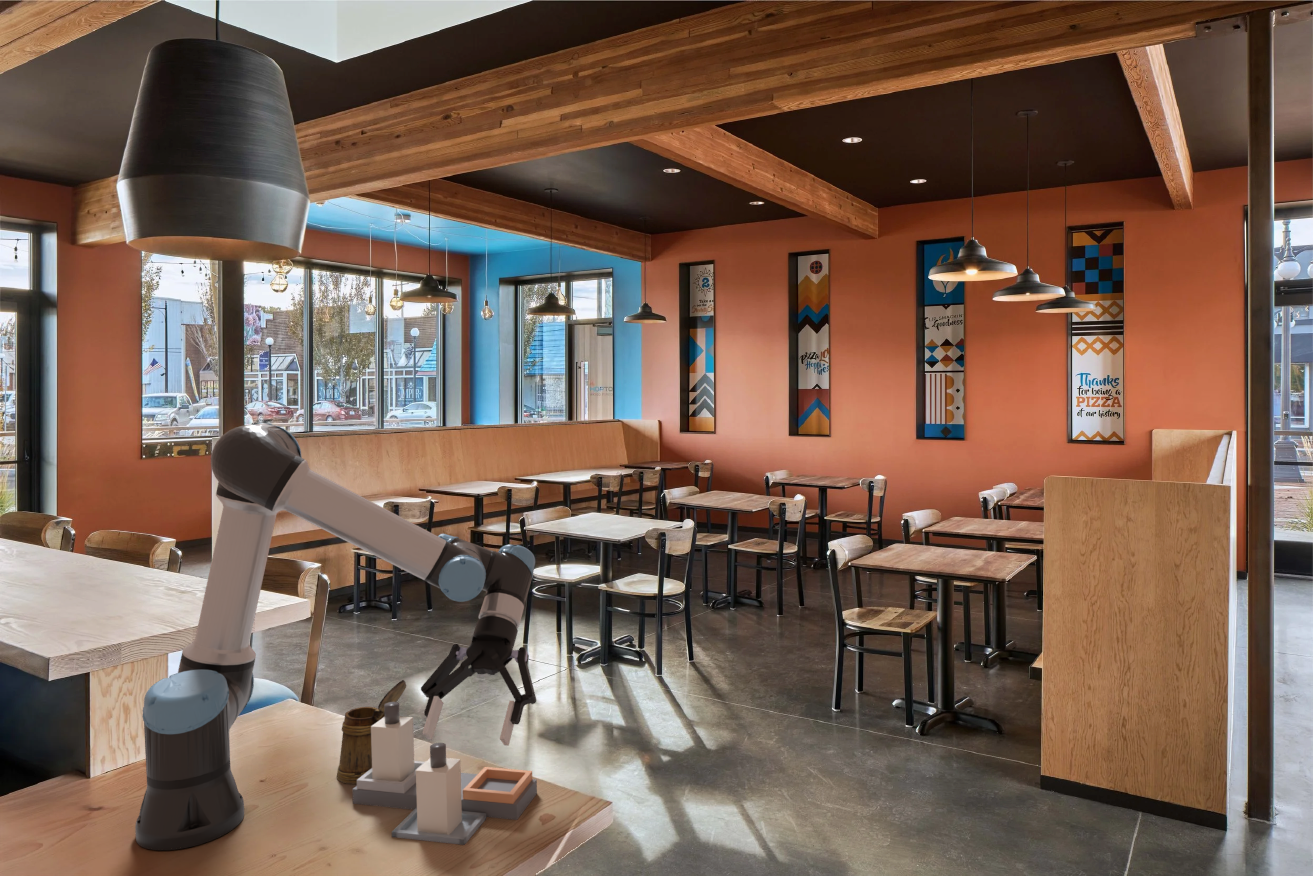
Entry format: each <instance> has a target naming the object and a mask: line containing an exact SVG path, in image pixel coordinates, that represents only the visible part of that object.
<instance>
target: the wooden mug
mask: <svg viewBox="0 0 1313 876" xmlns="http://www.w3.org/2000/svg"><path fill="white" fill-rule="evenodd" d="M406 688H407V684H406V681H405V680H404V679H402V680H400V681H399V682H397V683H396V684H395V685H394V686H393V687H392V688H391V689H390V690H389V691H387V693H386V694H385V695H384V697H383V698H382V699H381V700H380V702H379V704H378V707H373V706H361V707H357V708H352V709H350V710H348V711H346V712H345V714H344V720H343V721H342V726H341V731H342V738H341V748H340V755H339V763H338V766H337V772H336V778H337V781H339V782H340V783H343V784H350V785H351V784H352V785H357V779H359V778H360V777H361V776H362V775H364V774H365V773H366V772H367V771H369V770H370V769H371V768H372V747H371V726H372V725H374V724H375V723H376V722H378V721H379V720H381V719H382V718H383V717H385V712H384V705H385V704H386V703H389V702H398V701H399V699H400V698H401V697H402V695H403V693H404V692H405V690H406Z"/></svg>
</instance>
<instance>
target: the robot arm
mask: <svg viewBox="0 0 1313 876" xmlns="http://www.w3.org/2000/svg"><path fill="white" fill-rule="evenodd" d="M211 451H212V452H211V456H210V465H211V470H212V471H211V472H213V476H214V477H215V479H216V480H217V481H218V483H217V487H216V492H215V496H216V498H217V499H218V500H219V502H221V504H222V510H221V511H222V512H221V515H220V520H219V525H218V530H217V535H216V540H215V543H214V548H213V554H212V558H211V564H210V567H209V573H208V577H207V580H206V581H207V582H206V587H205V591H204V596H203V600H202V606H201V609H200V615H199V620H198V622H197V623H198V624H197V629H196V634H195V638H194V640H192V642H191V643H189V644H188V645H185V647H184V648H182V652H181V657H180V662H179V666H178V669H177V670H178V671H177V673H174V674H171V675H169V677H164V678H162V679H160V680H158V681H157V682H155V683H154V684H152V686H150V687H149V688H148V690H147V691H146V693H145V695H144V699H143V707H142V721H143V727H144V730H143V731H144V749H145V752H144V754H145V768H146V771H145V772H146V789H145V793H144V796H143V798H142V803H141V806H140V809H139V814H138V817H137V818H136V822H135V826H134V827H135V828H134V829H135V842H136V843H137V844H138V846H140V847H141V848H144V849H147V850H153V851H174V850H175V851H176V850H182V849H187V848H191V847H195V846H200V845H202V844H203V845H204V844H205V843H209V842H211V841H214V840H215V839H219V838H220V837H222V836H225V835H226V834H228V833H230V832H231V831H232V830H234V829H235V828H237V827H238V825H239V824H240V823H242V821H243V819H244V818H245V801H244V798H243V796H242V794H241V793H240V792H239V789H238V786H237V782H236V780H235V777H234V774H233V772H232V770H231V748H230V747H231V745H230V743H231V741H230V729H231V728H232V726H233V725H234V723H235V722H236V720H237V719H238V717H239V716H240V714H241V713H242V712H243V711H244V709H245V708H246V707H247V705H248V703H249V702H250V700H251V698H252V695H253V691H254V683H255V678H254V673H253V671H254V668H255V662H256V658H257V657H256V656H257V654H256V651H255V650H254V649H253V648H252V647H251V645H250V641H251V637H252V632H253V628H254V623H255V619H256V613H257V608H258V603H259V599H260V594H261V589H262V585H263V580H264V575H265V570H266V566H267V562H268V556H269V551H270V548H271V544H272V538H273V537H272V536H273V533H274V529H275V523H276V519H277V514H278V513H279V512H281V511H285V512H287V513H290V514H292V515H294V516H296V517H298V518H299V519H301V520H304V521H305V522H307V523H310V524H311V525H314V526H315V527H317V528H319V529H321V530H323V531H325V532H328V533H330V534H331V535H333V536H335V537H337V538H340V539H341V540H343V541H344V542H347V543H349V544H351V545H353V546H356V547H357V548H359V549H361V550H363V551H365V552H368V553H369V554H372V555H374V556H376V557H377V558H379V559H381V560H383V561H385V562H387V563H389V564H391V565H392V566H395V567H397V568H399V569H401V570H404V571H405V572H407V573H409V574H410V575H413V576H415V577H417V578H418V579H421V580H423V581H425V582H426V583H428V584H429V585H432V586H434V587H436V588H438V589H439V590H440V591H441V592H442V593H443V594H444V595H445V596H446V597H447V598H448V599H449V600H451V601H455V602H459V603H460V602H461V603H463V602H468V601H471V600H473V599H475V598H476V597H477V596H479V594H480V593H481V592H482V591H485V595H484V599H483V602H482V605H481V609H480V611H479V613H478V620H477V621H476V624H475V626H474V631H473V634H472V636H471V637H472V638H471V639H472V640H471V643H470V645H469V646H468V647H462V646H460V645H459V644H458V643H454V644H453V645H452V646H451V648H450V651H449V652H448V655H447V656H446V657H445V658H444V659H443V660H442V662H441V663H440V664H439V665H438V667H437V668H436V669H435V670H434V672H433V673H432V674H431V675H430V676H429V677H428V678H427V680H426V681H425V682H424V683H423V684H422V686H421V687H420V691H421V692H422V693H423V694H424V696H425V697H426V698H428V700H427V702H426V706H425V709H424V717H426V720H425V723H424V726H423V729H422V735H423V736H424V737H425V738H426V740H428V741H433V740H434V739H433V738H434V735H435V733H436V729H437V725H438V722H439V719H440V716H441V714H442V710H443V707H444V701H443V700H442V699H443V698H444V697H446V696H447V695H448V694H450V693H451V692H452V691H453V690H454V689H456V688H457V687H458V686H459V685H460V684H461V683H463V682H464V681H465V680H466V679H467V678H468V677H469V678H470V677H472V676H474V675H475V674H477V675H486V674H487V675H490V676H495V675H496V674H498V673H500V675H501V677H502V679H503V680H504V683H505V684H506V686H507V688H508V689H509V692H510V693H511V695H512V697H513V699H514V700H509V702H508V704H507V710H506V712H505V717H504V719H503V720H504V721H503V725H502V728H501V731H500V736H499V741H501V742H502V744H503V745H504V746H506V747H507V746H510V741H511V738H512V736H513V735H512V733H513V731H514V726H515V725H520V722H521V719H522V715H523V710H524V708H525V706H526V705H530V704H531V705H534V704H536V703H537V698H536V697H537V695H536V693H535V689H534V685H533V681H532V678H531V673H530V669H529V666H528V664H529V659H530V658H529V653H528V651H527V650H526V648H525V647H524V646H521V647H519V648H518V649H517V650H516V649H514V647H515V644H516V643H515V642H516V640H517V637H518V631H519V630H518V629H519V627H520V624H521V621H522V616H523V614H524V608H525V605H526V601H527V597H528V594H529V591H530V587H531V582H532V580H533V578H534V571H535V565H536V558H535V555H534V553H533V552H532V551H531V550H529V549H528V548H527V547H524V546H522V545H519V544H517V545H514V544H506V545H502V546H501V547H500V548H499V550H498V551H494V550H491V549H488V548H486V547H482V546H480V545H478V544H475V543H472V542H469V541H467V540H465V539H462V538H460V537H459V536H453V535H449V534H446V533H440V534H439V535H437V534H434V533H432V532H430V531H428V530H426V529H424V528H423V527H421V526H419V525H417V524H415V523H413V522H411V521H409V520H407V519H405V518H403V517H401V516H399V515H398V514H396V513H394V512H392V511H390V510H388V509H386V508H385V507H382V506H381V505H378V504H377V503H375V502H373V501H371V500H369V499H367V498H365V497H363V496H362V495H359V494H358V493H356V492H354V491H352V490H350V489H348V488H346V487H344V486H342V485H340V484H339V483H336V482H335V481H333V480H331V479H329V478H327V477H325V476H323V475H322V474H319V473H318V472H316V471H314V470H312V469H311V468H310V465H309V462H308V460H306V459H305V458H303V456H302V450H301V447H300V443H299V442H298V440H297V439H296V438H295V436H294V435H293V434H292V433H291V432H290V431H288V430H287V429H285V428H284V427H281V426H279V425H274V424H272V423H266V422H258V423H252V424H248V425H247V424H246V425H241V426H238V427H237V426H236V427H234V428H232V429H230V430H227V432H225V433H224V434H222V435H221V436H220V438H219V439H218V440H217V441H216V443H215V444H214V446H213V449H212V450H211ZM513 649H514V650H513ZM464 657H467V658H465V659H464ZM513 659H514V661H515V663H516V664H517V666H518V670H519V674H520V678H521V681H522V685H523V687H522V688H523V690H524V694H521V692H520V690H519V689H518V687H517V685H516V684H515V681H514V679H513V678H512V676H511V673H510V672H509V671H508V669H507V667H506V665H508V664H509V663H510V662H511V661H512V660H513ZM460 661H462V662H461V663H460ZM459 663H460V665H459ZM458 665H459V666H458ZM457 666H458V667H457ZM456 667H457V668H456ZM454 669H455V670H454Z"/></svg>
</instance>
